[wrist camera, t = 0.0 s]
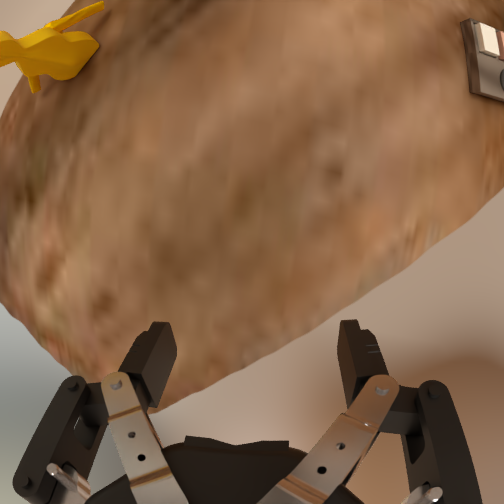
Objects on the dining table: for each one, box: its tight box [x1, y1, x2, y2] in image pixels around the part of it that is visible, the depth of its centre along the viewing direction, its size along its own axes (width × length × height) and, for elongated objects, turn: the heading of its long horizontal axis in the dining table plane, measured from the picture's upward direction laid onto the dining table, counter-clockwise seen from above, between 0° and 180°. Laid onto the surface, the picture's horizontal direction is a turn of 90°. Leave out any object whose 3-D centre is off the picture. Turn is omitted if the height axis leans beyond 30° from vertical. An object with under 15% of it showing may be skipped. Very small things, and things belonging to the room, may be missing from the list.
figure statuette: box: [0, 1, 104, 93], centre depth 23 cm, size 18×8×22 cm, turn 131°
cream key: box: [474, 23, 500, 57], centre depth 24 cm, size 5×3×2 cm
